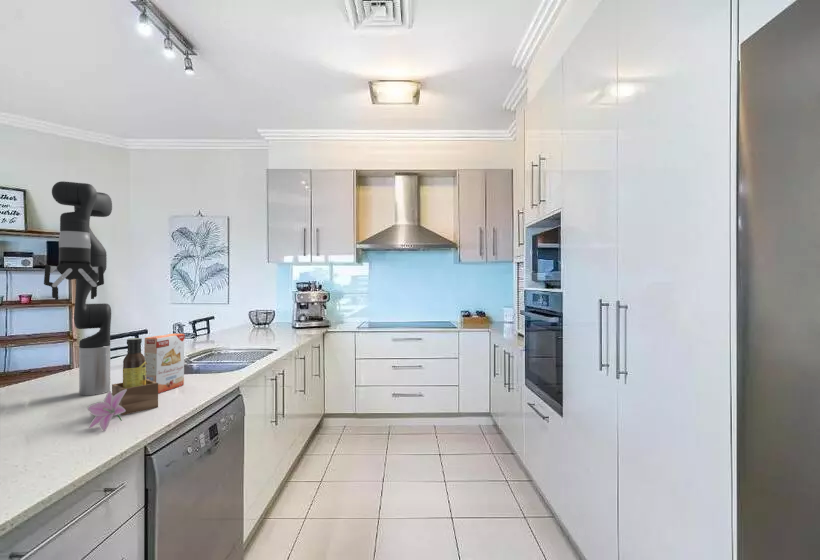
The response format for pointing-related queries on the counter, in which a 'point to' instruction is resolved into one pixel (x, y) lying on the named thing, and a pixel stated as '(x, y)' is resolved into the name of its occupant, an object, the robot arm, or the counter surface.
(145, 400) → the bottle holder
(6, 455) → the counter surface
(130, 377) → the sauce bottle
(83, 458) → the counter surface
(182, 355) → the cracker box
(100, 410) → the lily
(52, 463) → the counter surface
